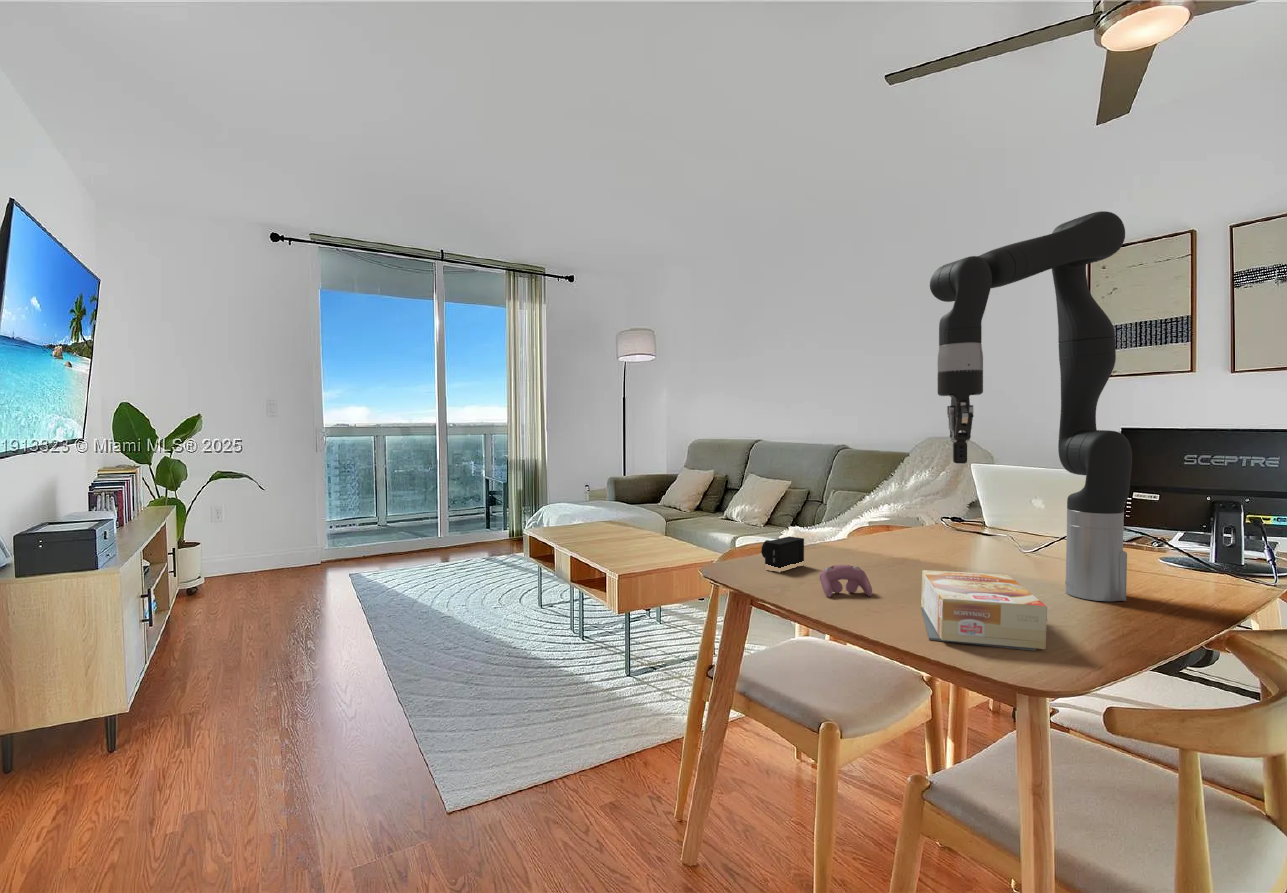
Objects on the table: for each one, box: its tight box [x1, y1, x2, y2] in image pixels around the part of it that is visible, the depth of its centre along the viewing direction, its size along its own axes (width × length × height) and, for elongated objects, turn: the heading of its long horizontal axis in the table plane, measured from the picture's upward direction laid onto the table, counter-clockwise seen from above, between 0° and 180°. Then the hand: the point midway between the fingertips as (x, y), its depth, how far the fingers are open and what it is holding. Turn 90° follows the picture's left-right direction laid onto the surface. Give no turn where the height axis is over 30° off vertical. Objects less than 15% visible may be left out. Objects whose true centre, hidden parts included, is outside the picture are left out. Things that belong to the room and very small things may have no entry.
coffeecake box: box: [920, 569, 1048, 650], centre depth 106 cm, size 15×7×20 cm
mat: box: [920, 606, 1037, 652], centre depth 107 cm, size 15×18×1 cm
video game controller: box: [819, 564, 873, 598], centre depth 128 cm, size 10×5×7 cm, turn 93°
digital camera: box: [760, 536, 805, 568], centre depth 152 cm, size 10×5×7 cm, turn 133°
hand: (959, 463), depth 116 cm, fingers closed
